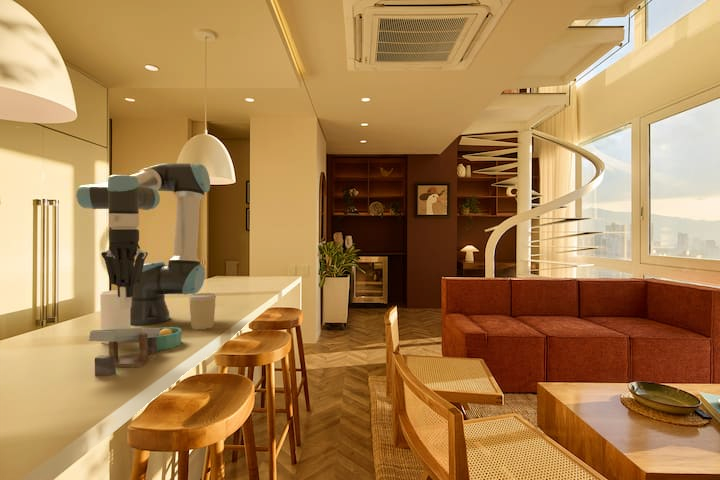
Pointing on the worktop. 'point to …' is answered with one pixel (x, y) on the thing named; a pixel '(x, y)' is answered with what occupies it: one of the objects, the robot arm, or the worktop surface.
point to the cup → (113, 312)
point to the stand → (125, 356)
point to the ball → (165, 332)
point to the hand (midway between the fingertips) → (125, 308)
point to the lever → (122, 334)
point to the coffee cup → (202, 310)
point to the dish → (168, 339)
